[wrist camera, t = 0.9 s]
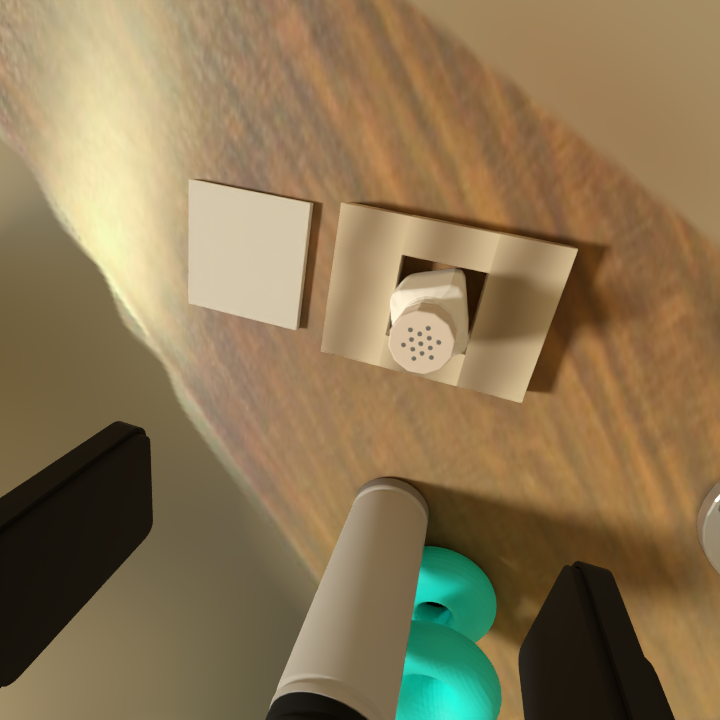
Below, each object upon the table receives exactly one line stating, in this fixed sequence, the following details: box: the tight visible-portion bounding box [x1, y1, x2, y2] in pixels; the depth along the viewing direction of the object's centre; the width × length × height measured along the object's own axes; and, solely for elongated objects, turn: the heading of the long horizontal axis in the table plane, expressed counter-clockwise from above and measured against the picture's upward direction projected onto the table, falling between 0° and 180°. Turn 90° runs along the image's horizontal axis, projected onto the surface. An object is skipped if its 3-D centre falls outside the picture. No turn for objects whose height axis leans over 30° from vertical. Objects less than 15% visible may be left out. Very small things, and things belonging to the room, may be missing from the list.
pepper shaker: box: [388, 268, 469, 374], centre depth 24 cm, size 4×4×10 cm
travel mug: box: [266, 478, 429, 720], centre depth 27 cm, size 6×7×20 cm
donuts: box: [395, 546, 502, 720], centre depth 33 cm, size 10×10×10 cm
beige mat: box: [188, 179, 313, 330], centre depth 31 cm, size 9×9×1 cm
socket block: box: [321, 202, 578, 403], centre depth 28 cm, size 14×10×2 cm
